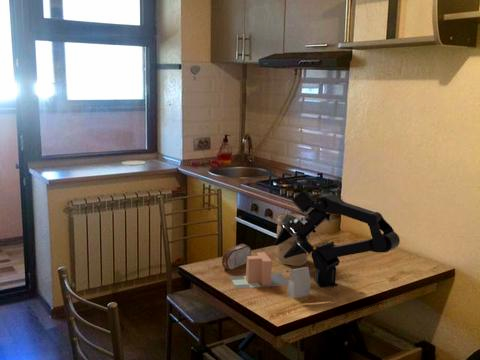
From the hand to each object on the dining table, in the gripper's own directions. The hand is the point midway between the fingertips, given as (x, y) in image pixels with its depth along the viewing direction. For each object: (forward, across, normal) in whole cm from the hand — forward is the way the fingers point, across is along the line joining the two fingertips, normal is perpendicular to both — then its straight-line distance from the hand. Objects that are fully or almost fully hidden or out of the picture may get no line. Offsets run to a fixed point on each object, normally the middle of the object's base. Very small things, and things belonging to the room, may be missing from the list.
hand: (279, 251), depth 186 cm
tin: (+17, -14, +2) cm, 22 cm away
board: (+13, +2, +3) cm, 13 cm away
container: (+1, -14, +19) cm, 24 cm away
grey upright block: (+5, +16, +7) cm, 18 cm away
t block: (+13, +2, +2) cm, 13 cm away
